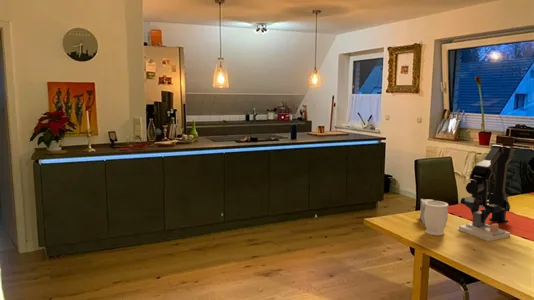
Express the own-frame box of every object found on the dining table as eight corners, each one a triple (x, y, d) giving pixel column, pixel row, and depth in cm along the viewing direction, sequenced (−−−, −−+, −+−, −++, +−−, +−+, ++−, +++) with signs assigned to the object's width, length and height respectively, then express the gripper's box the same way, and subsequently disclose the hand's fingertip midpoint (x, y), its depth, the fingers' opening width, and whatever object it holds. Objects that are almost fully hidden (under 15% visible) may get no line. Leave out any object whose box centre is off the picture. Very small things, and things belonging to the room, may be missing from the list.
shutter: (492, 228, 198) (493, 221, 198) (505, 233, 192) (505, 225, 192) (482, 230, 196) (483, 223, 195) (495, 235, 190) (495, 227, 189)
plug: (478, 224, 204) (478, 210, 203) (485, 226, 201) (486, 212, 200) (472, 225, 203) (473, 211, 202) (479, 227, 199) (480, 213, 198)
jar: (445, 230, 204) (447, 201, 201) (447, 237, 194) (449, 207, 192) (422, 228, 207) (424, 199, 205) (423, 235, 197) (424, 205, 195)
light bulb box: (436, 224, 212) (437, 204, 211) (422, 224, 214) (423, 204, 212) (432, 218, 223) (433, 199, 221) (419, 217, 224) (420, 198, 222)
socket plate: (479, 225, 210) (479, 219, 209) (509, 236, 194) (510, 230, 194) (458, 229, 205) (459, 223, 204) (488, 241, 189) (489, 234, 189)
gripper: (453, 188, 205) (451, 218, 207) (485, 197, 188) (483, 230, 190) (469, 185, 209) (467, 215, 211) (503, 194, 192) (500, 226, 194)
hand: (478, 221), depth 202 cm, fingers closed on plug, 4 cm apart
